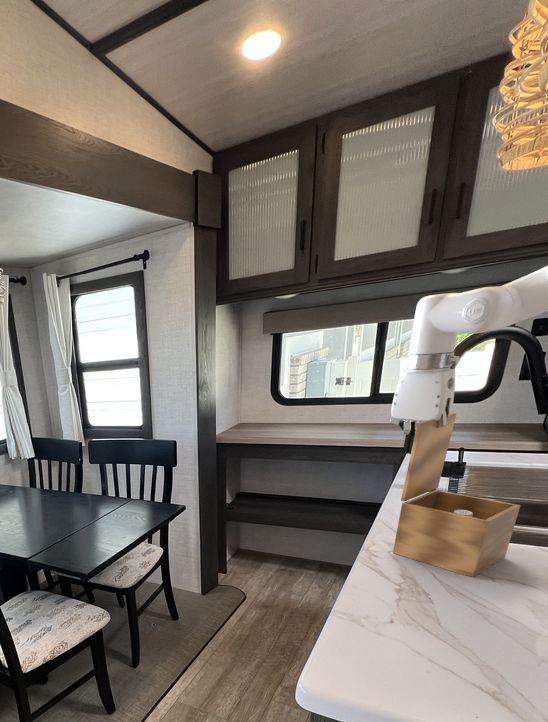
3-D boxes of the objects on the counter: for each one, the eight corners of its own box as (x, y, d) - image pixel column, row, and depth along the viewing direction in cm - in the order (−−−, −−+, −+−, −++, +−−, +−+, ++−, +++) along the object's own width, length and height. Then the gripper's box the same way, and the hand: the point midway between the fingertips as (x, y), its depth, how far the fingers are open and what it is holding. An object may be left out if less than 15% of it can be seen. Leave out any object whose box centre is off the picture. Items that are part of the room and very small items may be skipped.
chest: (504, 558, 98) (520, 505, 94) (472, 577, 92) (487, 521, 88) (425, 537, 111) (435, 489, 106) (392, 553, 105) (402, 503, 100)
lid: (456, 413, 98) (452, 412, 99) (421, 423, 92) (417, 422, 93) (438, 488, 106) (434, 487, 106) (404, 501, 100) (400, 500, 100)
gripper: (480, 360, 90) (459, 454, 98) (401, 361, 102) (387, 445, 110) (461, 364, 87) (440, 461, 94) (381, 365, 99) (368, 451, 106)
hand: (411, 452), depth 102 cm, fingers closed
